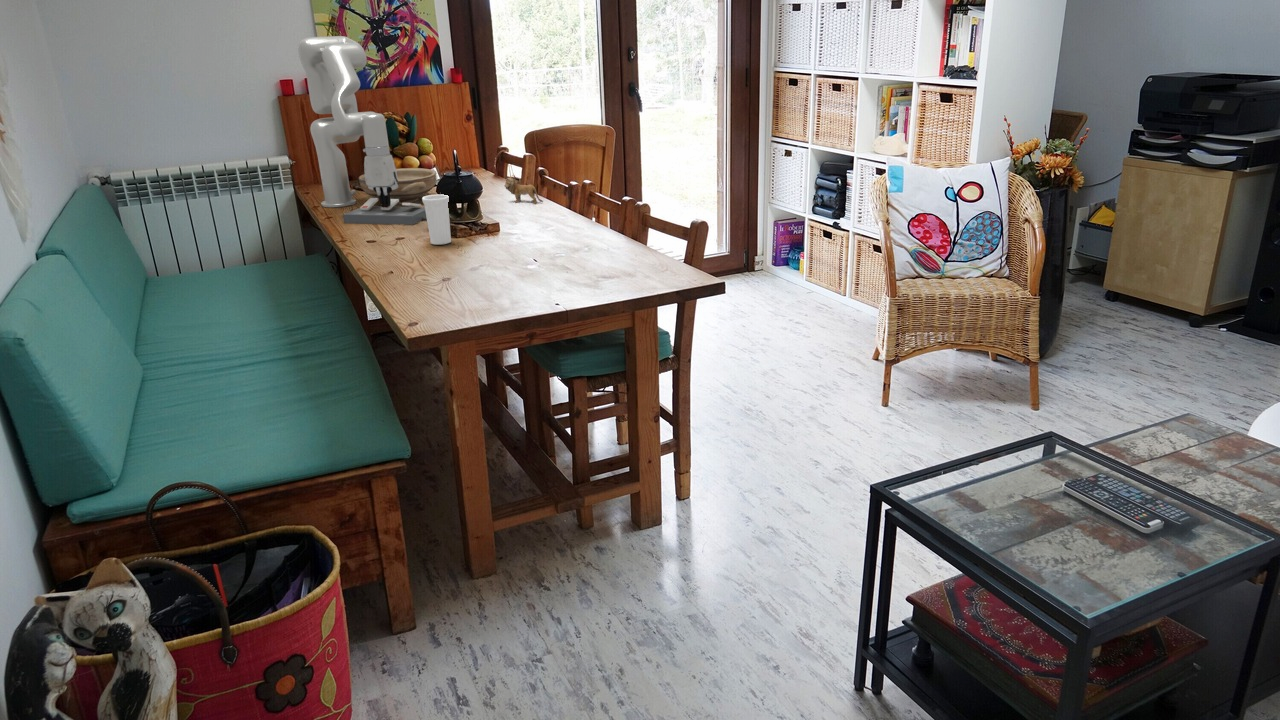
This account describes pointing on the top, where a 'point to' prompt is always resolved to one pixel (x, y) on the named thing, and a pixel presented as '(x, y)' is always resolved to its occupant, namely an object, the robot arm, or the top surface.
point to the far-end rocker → (369, 204)
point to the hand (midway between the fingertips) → (386, 206)
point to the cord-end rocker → (411, 204)
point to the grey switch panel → (386, 215)
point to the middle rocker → (393, 202)
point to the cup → (438, 218)
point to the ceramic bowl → (407, 184)
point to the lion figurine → (521, 190)
